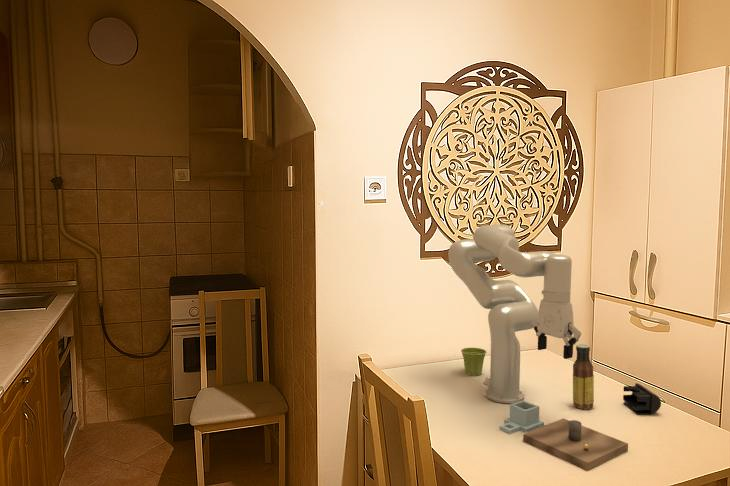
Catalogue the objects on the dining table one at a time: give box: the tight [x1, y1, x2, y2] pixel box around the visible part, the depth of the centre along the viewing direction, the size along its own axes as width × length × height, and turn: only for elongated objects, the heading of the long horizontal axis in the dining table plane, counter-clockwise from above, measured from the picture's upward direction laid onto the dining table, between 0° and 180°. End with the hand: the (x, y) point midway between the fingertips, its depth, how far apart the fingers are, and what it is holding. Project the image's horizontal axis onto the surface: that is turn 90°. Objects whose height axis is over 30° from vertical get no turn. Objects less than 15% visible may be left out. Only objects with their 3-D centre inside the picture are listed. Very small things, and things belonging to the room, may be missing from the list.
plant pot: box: [460, 347, 487, 376], centre depth 211 cm, size 9×9×9 cm
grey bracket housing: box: [499, 399, 545, 435], centre depth 164 cm, size 13×8×6 cm, turn 125°
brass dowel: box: [584, 443, 589, 451], centre depth 145 cm, size 1×1×2 cm
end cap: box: [622, 382, 662, 416], centre depth 176 cm, size 10×7×7 cm
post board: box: [522, 418, 629, 471], centre depth 152 cm, size 20×18×6 cm
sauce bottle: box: [572, 343, 595, 410], centre depth 178 cm, size 7×6×20 cm
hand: (554, 353), depth 166 cm, fingers open, 9 cm apart
